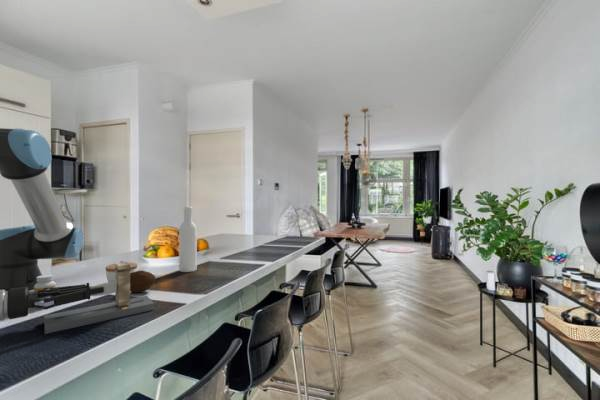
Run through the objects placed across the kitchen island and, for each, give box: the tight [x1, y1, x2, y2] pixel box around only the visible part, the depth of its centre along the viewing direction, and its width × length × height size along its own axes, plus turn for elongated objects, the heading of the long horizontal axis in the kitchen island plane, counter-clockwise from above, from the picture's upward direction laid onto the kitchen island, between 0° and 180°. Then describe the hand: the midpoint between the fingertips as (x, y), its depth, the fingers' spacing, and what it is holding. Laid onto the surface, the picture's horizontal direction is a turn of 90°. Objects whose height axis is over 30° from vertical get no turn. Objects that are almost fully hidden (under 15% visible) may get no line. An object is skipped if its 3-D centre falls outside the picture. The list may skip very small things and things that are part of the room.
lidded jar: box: [105, 260, 138, 283], centre depth 119 cm, size 11×11×9 cm
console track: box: [43, 295, 155, 335], centre depth 89 cm, size 26×9×2 cm, turn 131°
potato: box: [130, 270, 157, 293], centre depth 111 cm, size 7×10×8 cm
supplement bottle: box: [33, 274, 57, 310], centre depth 96 cm, size 5×5×10 cm
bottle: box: [178, 206, 198, 273], centre depth 143 cm, size 8×8×30 cm
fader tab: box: [115, 261, 131, 307], centre depth 92 cm, size 3×5×12 cm, turn 41°
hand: (116, 286), depth 91 cm, fingers closed
